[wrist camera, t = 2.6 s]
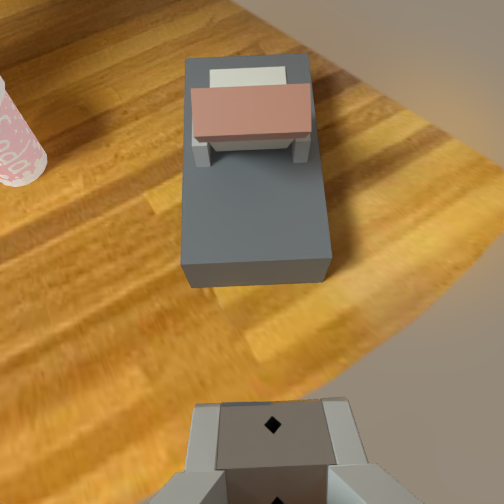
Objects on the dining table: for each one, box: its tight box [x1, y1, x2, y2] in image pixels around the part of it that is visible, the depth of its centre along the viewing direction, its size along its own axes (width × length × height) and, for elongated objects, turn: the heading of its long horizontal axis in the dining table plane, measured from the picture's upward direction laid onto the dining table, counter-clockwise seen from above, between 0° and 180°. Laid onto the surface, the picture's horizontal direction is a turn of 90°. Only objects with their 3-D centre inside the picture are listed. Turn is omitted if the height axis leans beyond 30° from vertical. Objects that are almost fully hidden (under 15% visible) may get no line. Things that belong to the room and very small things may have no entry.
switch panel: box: [181, 53, 332, 288], centre depth 33 cm, size 10×18×8 cm, turn 2°
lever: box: [191, 83, 311, 151], centre depth 26 cm, size 6×2×12 cm
